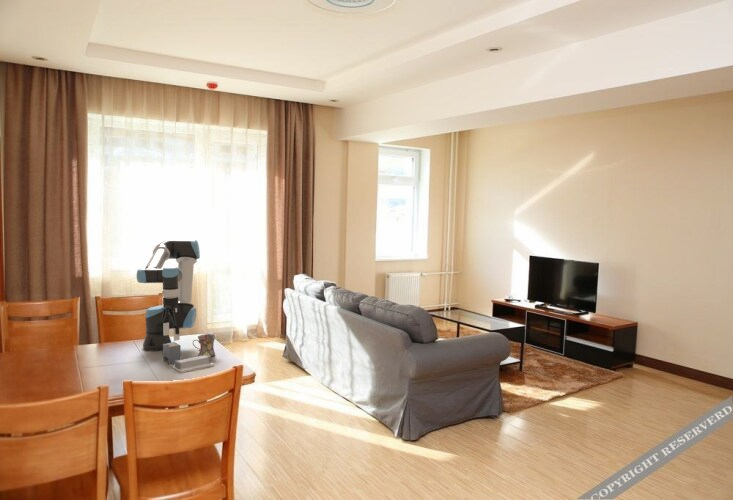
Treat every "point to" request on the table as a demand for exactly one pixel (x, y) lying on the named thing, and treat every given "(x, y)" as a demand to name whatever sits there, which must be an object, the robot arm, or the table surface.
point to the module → (171, 352)
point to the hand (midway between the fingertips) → (171, 337)
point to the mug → (206, 344)
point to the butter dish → (193, 363)
